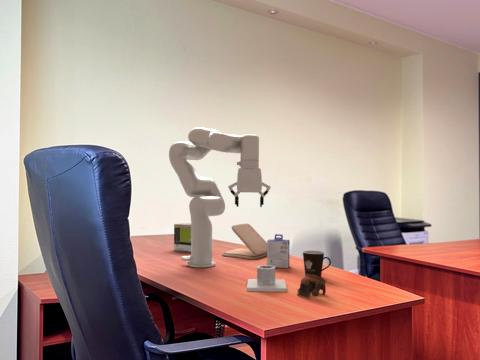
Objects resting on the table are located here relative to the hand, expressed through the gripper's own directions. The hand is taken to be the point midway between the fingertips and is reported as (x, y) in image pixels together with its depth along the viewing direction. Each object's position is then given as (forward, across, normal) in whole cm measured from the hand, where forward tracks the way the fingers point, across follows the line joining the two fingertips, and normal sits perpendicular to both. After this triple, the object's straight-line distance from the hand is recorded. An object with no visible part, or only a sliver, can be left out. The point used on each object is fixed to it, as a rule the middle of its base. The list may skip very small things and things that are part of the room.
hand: (249, 206), depth 183 cm
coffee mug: (+28, +27, -1) cm, 39 cm away
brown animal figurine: (+29, +23, -30) cm, 47 cm away
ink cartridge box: (+28, +13, +20) cm, 37 cm away
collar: (+27, +7, -18) cm, 33 cm away
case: (+29, -2, +50) cm, 58 cm away
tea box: (+29, -34, +62) cm, 76 cm away
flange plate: (+28, +7, -18) cm, 34 cm away
